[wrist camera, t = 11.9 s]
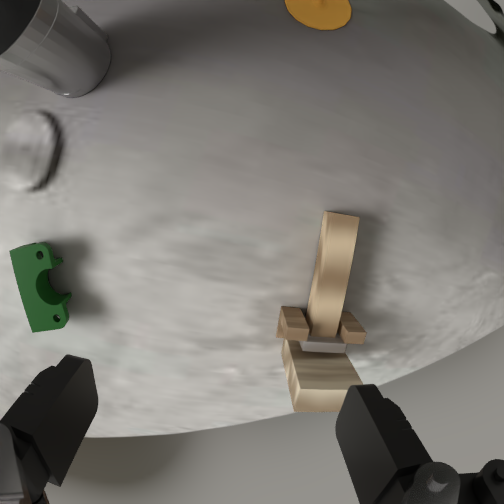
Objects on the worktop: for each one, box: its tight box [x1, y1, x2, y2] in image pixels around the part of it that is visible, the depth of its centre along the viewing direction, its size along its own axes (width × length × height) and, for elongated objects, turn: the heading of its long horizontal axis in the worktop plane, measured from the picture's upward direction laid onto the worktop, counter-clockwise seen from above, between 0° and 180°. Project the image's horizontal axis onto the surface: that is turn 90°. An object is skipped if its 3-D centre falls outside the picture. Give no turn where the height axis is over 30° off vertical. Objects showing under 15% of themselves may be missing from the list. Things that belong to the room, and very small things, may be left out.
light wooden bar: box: [299, 211, 360, 353], centre depth 34 cm, size 15×5×6 cm, turn 172°
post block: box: [276, 306, 367, 412], centre depth 33 cm, size 7×9×12 cm
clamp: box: [10, 242, 72, 332], centre depth 34 cm, size 12×6×9 cm, turn 1°
